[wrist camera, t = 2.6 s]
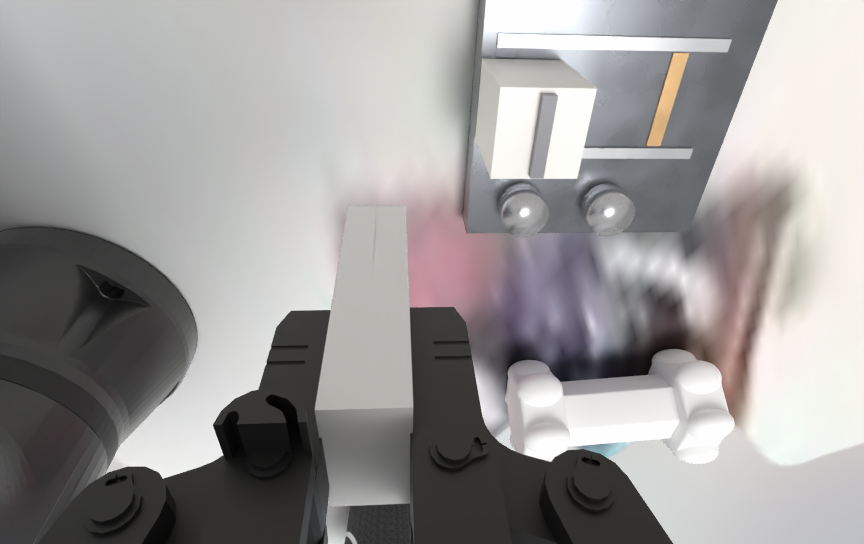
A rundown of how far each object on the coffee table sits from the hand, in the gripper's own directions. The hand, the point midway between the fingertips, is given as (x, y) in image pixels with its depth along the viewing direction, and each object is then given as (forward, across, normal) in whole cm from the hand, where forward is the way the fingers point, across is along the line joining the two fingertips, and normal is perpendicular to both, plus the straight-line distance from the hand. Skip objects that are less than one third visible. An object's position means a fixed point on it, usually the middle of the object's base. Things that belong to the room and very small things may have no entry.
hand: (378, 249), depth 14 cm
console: (+16, +12, 0) cm, 20 cm away
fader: (+14, +7, 0) cm, 15 cm away
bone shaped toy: (+17, +17, -23) cm, 33 cm away
